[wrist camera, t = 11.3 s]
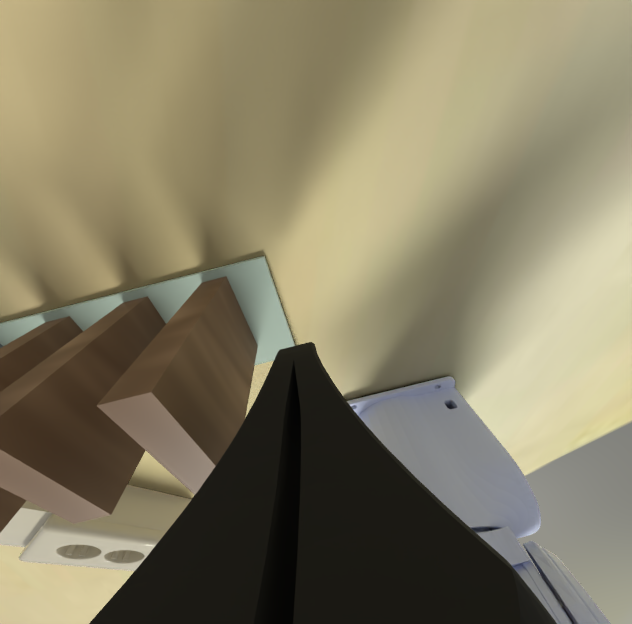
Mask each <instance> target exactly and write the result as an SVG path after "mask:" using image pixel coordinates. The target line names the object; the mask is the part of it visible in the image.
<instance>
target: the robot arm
mask: <svg viewBox="0 0 632 624" xmlns="http://www.w3.org/2000/svg"><path fill="white" fill-rule="evenodd" d="M540 525H541V515H540V510H539V506H538V503H537V500H536V498H535V496H534V493H533V491H532V489H531V487H530V485H529V483H528V482H527V480H526V478H525V476H524V475H523V473H522V471H521V470H520V468H519V467H518V465H517V464H516V462H515V461H514V459H513V458H512V457H511V456H510V454H509V453H508V452H507V450H506V449H505V448H504V447H503V446H502V444H501V443H500V442H499V441H498V440H497V438H496V437H495V436H494V435H493V433H492V432H491V431H490V430H489V429H488V427H487V426H486V425H485V424H484V422H483V421H482V420H481V419H480V418H479V416H478V415H477V414H476V413H475V411H474V410H473V409H472V408H471V407H470V405H469V404H468V403H467V402H466V400H465V399H464V398H463V397H462V396H461V394H460V393H459V392H458V391H457V389H456V388H455V380H454V379H453V378H452V377H450V376H448V377H443V378H439V379H435V380H431V381H427V382H423V383H419V384H415V385H411V386H407V387H402V388H398V389H394V390H390V391H386V392H382V393H378V394H374V395H370V396H366V397H361V398H357V399H353V400H349V401H346V400H345V398H344V397H343V396H342V394H341V393H340V391H339V390H338V389H337V387H336V386H335V384H334V383H333V381H332V380H331V378H330V376H329V375H328V373H327V372H326V370H325V368H324V367H323V365H322V363H321V361H320V359H319V357H318V354H317V351H316V348H315V344H314V343H312V342H309V343H305V344H301V345H297V346H293V347H289V348H285V349H280V350H279V351H278V353H277V355H276V357H275V360H274V362H273V364H272V367H271V369H270V371H269V373H268V376H267V378H266V380H265V382H264V384H263V386H262V388H261V390H260V392H259V394H258V396H257V398H256V400H255V402H254V404H253V406H252V408H251V409H250V411H249V413H248V415H247V417H246V418H245V420H244V422H243V424H242V425H241V427H240V429H239V431H238V432H237V434H236V436H235V437H234V439H233V440H232V442H231V444H230V445H229V447H228V448H227V450H226V451H225V453H224V454H223V456H222V457H221V459H220V460H219V462H218V463H217V465H216V466H215V468H214V469H213V471H212V472H211V473H210V475H209V476H208V478H207V479H206V480H205V482H204V483H203V485H202V486H201V488H200V489H199V490H198V492H197V493H196V494H195V496H194V497H193V498H192V500H191V501H190V503H189V504H188V505H187V506H186V508H185V509H184V510H183V512H182V513H181V514H180V516H179V517H178V518H177V519H176V521H175V522H174V523H173V524H172V526H171V527H170V528H169V529H168V531H167V532H166V533H165V534H164V536H163V537H162V538H161V539H160V541H159V542H158V543H157V544H156V546H155V547H154V548H153V549H152V551H151V552H150V553H149V555H148V556H147V557H146V558H145V559H144V561H143V562H142V563H141V564H140V565H139V567H138V568H137V569H136V570H135V572H134V573H133V574H132V575H131V576H130V578H129V579H128V580H127V581H126V582H125V583H124V585H123V586H122V587H121V588H120V589H119V590H118V591H117V593H116V594H115V595H114V596H113V597H112V598H111V599H110V601H109V602H108V603H107V604H106V605H105V606H104V607H103V609H102V610H101V611H100V612H99V613H98V614H97V615H96V617H95V618H94V619H93V620H92V621H91V622H90V623H89V624H610V622H609V621H608V619H607V618H606V617H605V615H604V614H603V613H602V611H601V610H600V609H599V607H598V606H597V605H596V603H595V602H594V601H593V599H592V598H591V597H590V596H589V594H588V593H587V592H586V590H585V589H584V588H583V587H582V585H581V584H580V583H579V581H578V580H577V579H576V578H575V576H574V575H573V574H572V573H571V572H570V570H569V569H568V568H567V567H566V565H565V564H564V563H563V562H562V561H561V560H560V559H559V558H558V557H557V556H556V555H555V554H554V553H552V552H550V551H548V550H547V549H545V548H543V547H540V546H539V545H538V544H537V543H536V542H534V541H529V542H528V543H525V544H523V546H524V547H525V549H526V551H527V552H528V554H529V556H530V558H531V559H532V561H533V563H534V564H535V566H536V567H537V569H538V571H539V572H538V571H537V569H536V568H535V567H534V565H533V563H532V562H531V560H530V559H529V557H528V556H527V554H526V552H525V551H524V549H523V548H522V546H521V545H520V543H519V542H518V540H517V538H520V537H524V536H528V535H531V534H534V533H535V532H536V531H538V530H539V528H540ZM539 573H540V574H539Z"/></svg>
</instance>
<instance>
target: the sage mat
mask: <svg viewBox="0 0 632 624" xmlns="http://www.w3.org/2000/svg"><path fill="white" fill-rule="evenodd" d="M225 276H227V279H228V281H229V283H230V285H231V287H232V290H233V292H234V294H235V296H236V299H237V301H238V303H239V305H240V307H241V310H242V312H243V314H244V316H245V318H246V321H247V323H248V325H249V327H250V330H251V332H252V334H253V336H254V338H255V341H256V343H257V345H258V348H257V354H256V360H255V365H258V364H262V363H266V362H270V361H274V360H275V357H276V355H277V353H278V351H279V350H280V349H285V348H289V347H293V346H295V343H294V340H293V337H292V334H291V331H290V328H289V325H288V322H287V320H286V317H285V314H284V311H283V308H282V305H281V302H280V299H279V296H278V293H277V290H276V287H275V285H274V282H273V279H272V276H271V273H270V270H269V267H268V264H267V261H266V258H265V256H261V257H257V258H253V259H249V260H245V261H241V262H237V263H233V264H229V265H226V266H222V267H218V268H214V269H210V270H206V271H202V272H198V273H194V274H190V275H186V276H182V277H178V278H175V279H171V280H167V281H163V282H159V283H155V284H151V285H147V286H143V287H139V288H135V289H131V290H127V291H124V292H120V293H116V294H112V295H108V296H104V297H100V298H96V299H92V300H88V301H84V302H80V303H76V304H72V305H69V306H65V307H61V308H57V309H53V310H49V311H45V312H41V313H37V314H33V315H29V316H25V317H21V318H18V319H14V320H10V321H6V322H2V323H0V344H1V345H3V346H5V345H7V344H8V343H10V342H12V341H14V340H15V339H17V338H19V337H21V336H22V335H24V334H26V333H28V332H29V331H31V330H33V329H34V328H36V327H38V326H40V325H41V324H43V323H45V322H48V321H52V320H56V319H60V318H64V317H68V316H70V317H71V318H72V319H73V321H74V322H75V323H76V324H77V325H78V326H79V327H80V328H81V329H82V330H83V331H85V330H86V329H87V328H89V327H90V326H92V325H93V324H94V323H96V322H97V321H98V320H100V319H101V318H103V317H104V316H105V315H107V314H108V313H109V312H111V311H112V310H114V309H115V308H116V307H118V306H119V305H120V304H122V303H123V302H127V301H131V300H135V299H139V298H143V297H147V296H148V298H149V299H150V301H151V302H152V304H153V305H154V307H155V308H156V310H157V311H158V313H159V314H160V316H161V317H162V319H163V320H164V322H165V323H166V324H167V323H168V321H169V320H170V319H171V318H172V317H173V316H174V314H175V313H176V312H177V311H178V310H179V309H180V307H181V306H182V305H183V304H184V303H185V302H186V300H187V299H188V298H189V297H190V296H191V295H192V293H193V292H194V291H195V290H196V289H197V287H198V286H199V285H200V284H201V283H202V282H206V281H210V280H214V279H217V278H221V277H225Z"/></svg>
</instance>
